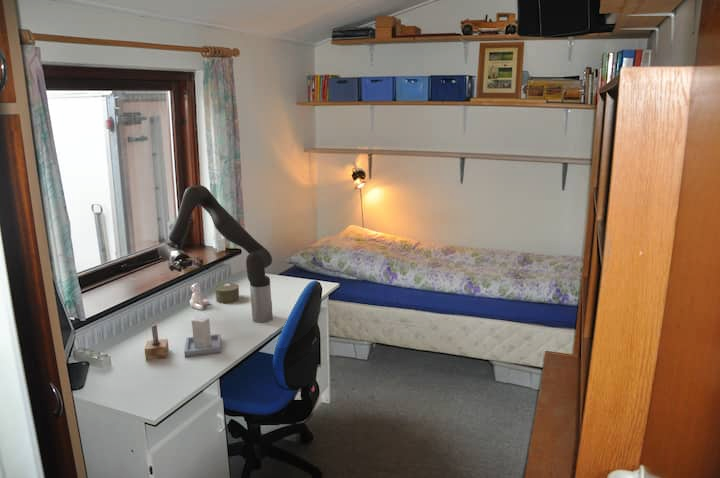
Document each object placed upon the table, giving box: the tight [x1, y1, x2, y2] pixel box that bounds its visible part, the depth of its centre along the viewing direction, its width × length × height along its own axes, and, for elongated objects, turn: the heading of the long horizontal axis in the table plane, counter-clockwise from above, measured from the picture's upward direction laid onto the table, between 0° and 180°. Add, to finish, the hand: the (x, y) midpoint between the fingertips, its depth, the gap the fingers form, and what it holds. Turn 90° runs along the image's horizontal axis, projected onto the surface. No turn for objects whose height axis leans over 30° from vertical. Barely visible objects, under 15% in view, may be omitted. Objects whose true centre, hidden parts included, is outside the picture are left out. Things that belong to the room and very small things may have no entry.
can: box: [214, 282, 240, 304], centre depth 289 cm, size 12×12×7 cm
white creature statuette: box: [189, 283, 210, 311], centre depth 279 cm, size 10×9×12 cm
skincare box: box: [191, 316, 212, 348], centre depth 233 cm, size 6×4×12 cm
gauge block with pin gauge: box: [144, 324, 170, 362], centre depth 227 cm, size 8×8×13 cm
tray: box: [184, 333, 222, 358], centre depth 234 cm, size 14×14×2 cm
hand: (190, 268), depth 243 cm, fingers open, 8 cm apart
